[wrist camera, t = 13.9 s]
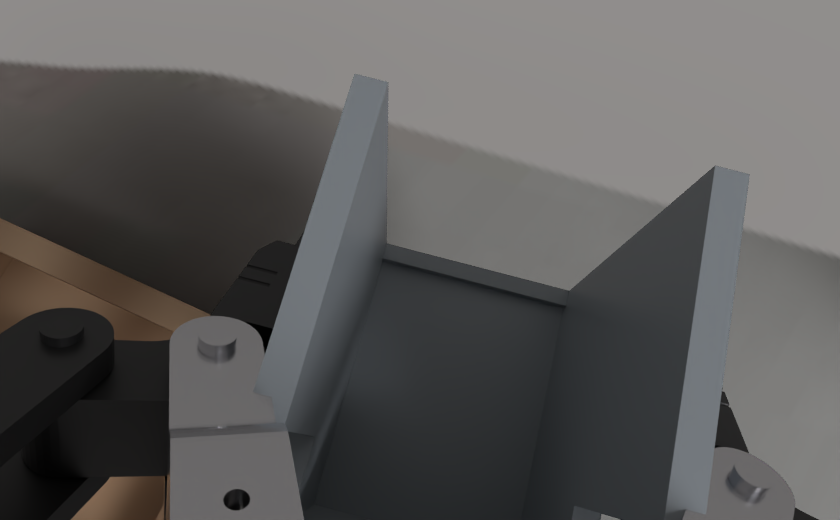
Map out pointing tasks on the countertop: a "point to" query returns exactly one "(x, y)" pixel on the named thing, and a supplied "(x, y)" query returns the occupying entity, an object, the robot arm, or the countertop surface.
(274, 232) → the countertop surface
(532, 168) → the countertop surface
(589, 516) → the holder
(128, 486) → the tray
